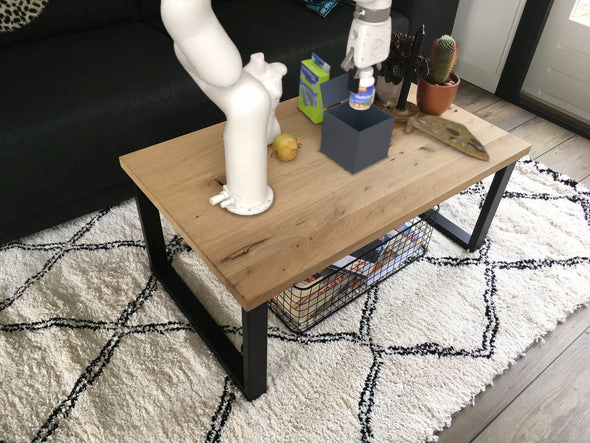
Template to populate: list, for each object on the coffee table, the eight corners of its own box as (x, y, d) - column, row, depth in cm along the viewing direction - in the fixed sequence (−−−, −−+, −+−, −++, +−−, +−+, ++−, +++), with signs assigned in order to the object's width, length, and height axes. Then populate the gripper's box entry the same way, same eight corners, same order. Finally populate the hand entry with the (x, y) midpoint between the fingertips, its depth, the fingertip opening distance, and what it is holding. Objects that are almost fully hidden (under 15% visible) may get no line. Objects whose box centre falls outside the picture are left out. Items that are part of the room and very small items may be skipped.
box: (297, 108, 154) (300, 54, 142) (309, 105, 155) (312, 51, 143) (314, 125, 147) (319, 69, 135) (326, 121, 148) (332, 66, 137)
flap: (320, 83, 125) (319, 83, 126) (324, 108, 128) (323, 108, 129) (357, 70, 132) (356, 70, 132) (360, 93, 135) (359, 93, 135)
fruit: (278, 153, 126) (310, 140, 130) (264, 134, 129) (295, 123, 133) (274, 170, 132) (305, 158, 136) (261, 152, 134) (291, 140, 139)
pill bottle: (353, 111, 122) (357, 74, 116) (345, 100, 126) (350, 64, 120) (373, 109, 124) (379, 72, 117) (366, 98, 127) (371, 62, 121)
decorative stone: (401, 132, 145) (407, 117, 142) (423, 118, 155) (430, 104, 152) (478, 175, 136) (487, 159, 133) (497, 157, 146) (505, 142, 143)
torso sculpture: (240, 159, 133) (236, 71, 116) (222, 141, 139) (216, 55, 122) (296, 139, 141) (300, 54, 124) (276, 123, 147) (278, 40, 130)
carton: (353, 174, 130) (359, 133, 122) (320, 150, 137) (323, 110, 129) (387, 156, 137) (395, 116, 128) (353, 135, 144) (359, 96, 135)
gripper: (356, 26, 103) (346, 104, 116) (411, 9, 111) (397, 83, 124) (331, 15, 107) (325, 91, 120) (386, -1, 116) (375, 72, 128)
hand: (362, 87), depth 122 cm, fingers closed on pill bottle, 5 cm apart
